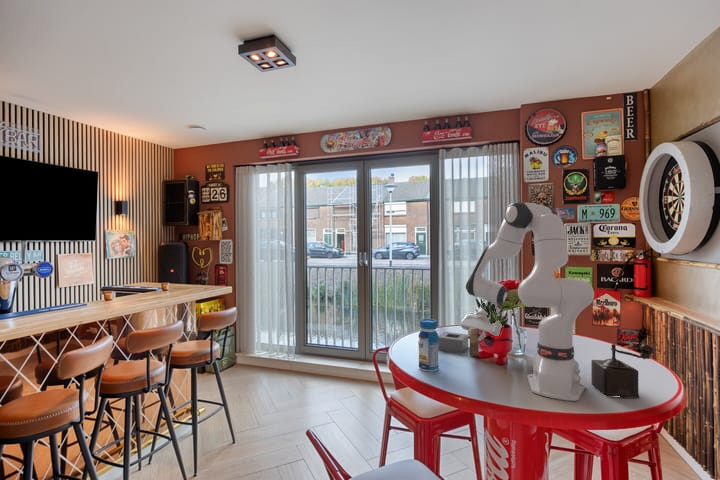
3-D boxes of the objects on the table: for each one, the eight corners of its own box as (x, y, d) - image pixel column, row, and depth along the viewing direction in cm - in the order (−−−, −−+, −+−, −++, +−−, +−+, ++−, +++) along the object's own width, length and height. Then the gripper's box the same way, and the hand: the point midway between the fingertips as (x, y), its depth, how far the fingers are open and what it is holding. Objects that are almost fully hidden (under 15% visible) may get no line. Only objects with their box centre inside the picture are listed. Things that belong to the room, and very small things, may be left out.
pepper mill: (606, 397, 119) (606, 344, 119) (590, 384, 130) (590, 335, 130) (658, 400, 116) (657, 346, 117) (637, 387, 127) (636, 337, 127)
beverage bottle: (439, 372, 142) (439, 323, 142) (418, 371, 143) (417, 322, 144) (438, 365, 150) (438, 318, 150) (418, 364, 152) (418, 317, 152)
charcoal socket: (462, 353, 167) (462, 340, 167) (437, 349, 173) (437, 337, 173) (468, 346, 177) (468, 334, 177) (444, 343, 183) (444, 331, 183)
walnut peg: (477, 356, 159) (477, 330, 159) (468, 355, 161) (468, 329, 161) (479, 354, 162) (479, 328, 162) (470, 353, 164) (470, 327, 164)
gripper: (465, 307, 174) (452, 330, 169) (502, 314, 157) (489, 340, 152) (471, 315, 177) (458, 338, 171) (508, 323, 160) (495, 348, 154)
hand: (473, 339), depth 161 cm, fingers closed on walnut peg, 4 cm apart
